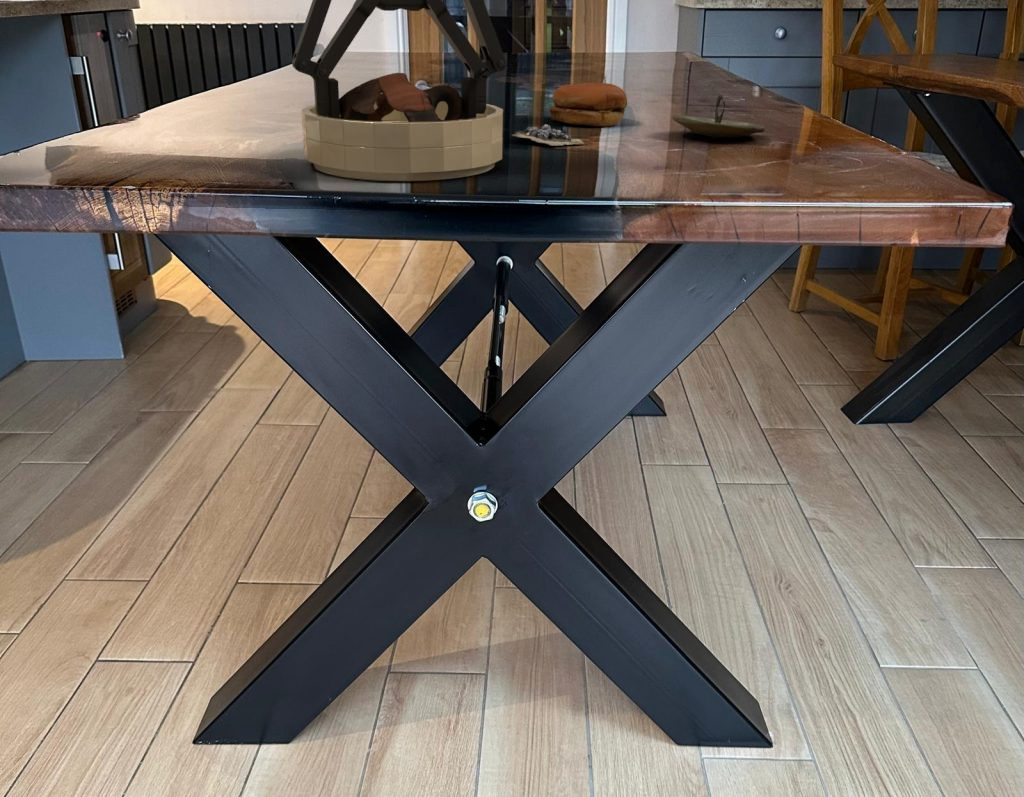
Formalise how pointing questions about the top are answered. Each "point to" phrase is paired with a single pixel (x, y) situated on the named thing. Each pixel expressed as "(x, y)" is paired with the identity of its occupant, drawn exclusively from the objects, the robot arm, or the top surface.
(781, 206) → the top surface
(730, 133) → the lid
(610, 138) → the top surface
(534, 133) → the blueberries
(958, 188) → the top surface
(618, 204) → the top surface
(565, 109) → the burger
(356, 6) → the robot arm
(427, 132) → the bowl
